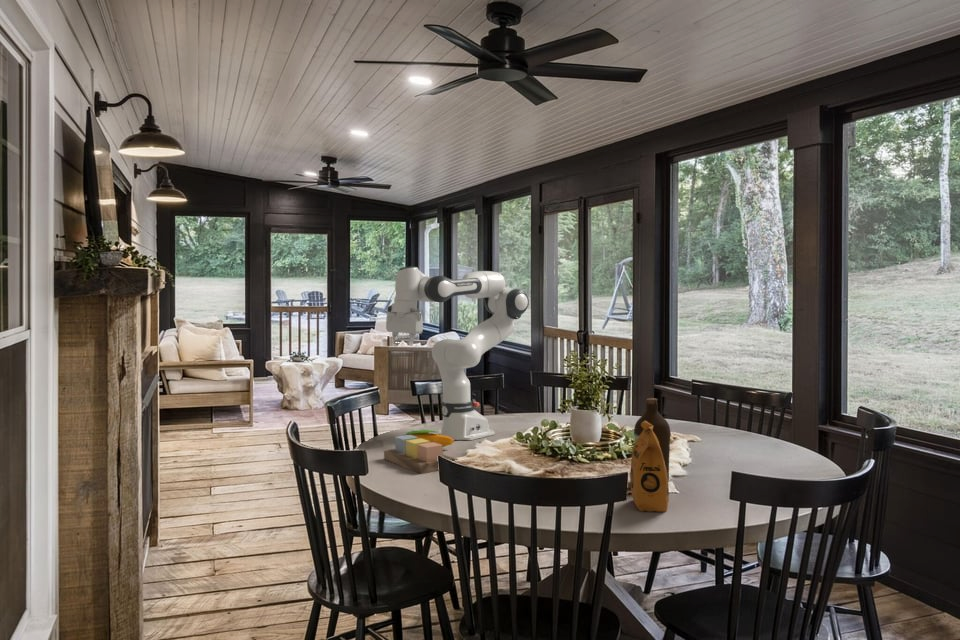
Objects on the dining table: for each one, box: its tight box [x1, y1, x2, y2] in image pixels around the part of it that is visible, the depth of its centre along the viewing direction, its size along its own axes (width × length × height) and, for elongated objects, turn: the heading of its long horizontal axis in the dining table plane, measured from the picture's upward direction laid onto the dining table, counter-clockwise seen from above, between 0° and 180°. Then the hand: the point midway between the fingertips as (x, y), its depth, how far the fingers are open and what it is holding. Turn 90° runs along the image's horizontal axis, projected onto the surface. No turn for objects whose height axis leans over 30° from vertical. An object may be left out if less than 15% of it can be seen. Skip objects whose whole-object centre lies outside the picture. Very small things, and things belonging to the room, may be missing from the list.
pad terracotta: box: [418, 442, 444, 462], centre depth 237 cm, size 6×6×5 cm
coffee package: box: [629, 421, 670, 513], centre depth 191 cm, size 10×12×22 cm
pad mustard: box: [406, 438, 430, 458], centre depth 243 cm, size 6×6×5 cm
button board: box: [383, 448, 456, 475], centre depth 244 cm, size 13×26×3 cm, turn 35°
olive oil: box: [633, 397, 671, 483], centre depth 214 cm, size 11×11×25 cm
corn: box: [402, 429, 455, 448], centre depth 264 cm, size 7×8×20 cm
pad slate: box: [394, 434, 418, 454], centre depth 250 cm, size 6×6×5 cm
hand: (403, 344), depth 270 cm, fingers open, 8 cm apart
